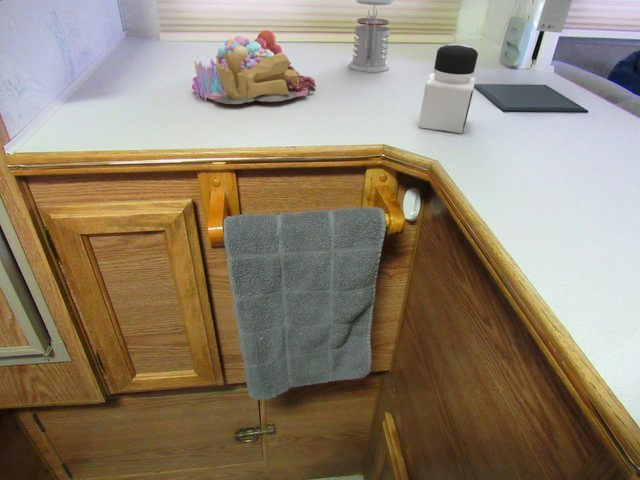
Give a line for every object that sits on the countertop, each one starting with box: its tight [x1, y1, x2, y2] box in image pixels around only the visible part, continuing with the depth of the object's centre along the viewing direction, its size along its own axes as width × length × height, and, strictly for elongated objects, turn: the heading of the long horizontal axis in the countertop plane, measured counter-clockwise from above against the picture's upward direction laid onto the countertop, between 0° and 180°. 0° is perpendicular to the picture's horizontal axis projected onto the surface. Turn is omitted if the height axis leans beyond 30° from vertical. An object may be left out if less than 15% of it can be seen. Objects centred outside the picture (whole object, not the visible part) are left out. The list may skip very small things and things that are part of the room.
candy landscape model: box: [191, 29, 317, 105], centre depth 81 cm, size 25×24×9 cm
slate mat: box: [474, 83, 589, 114], centre depth 83 cm, size 16×16×1 cm
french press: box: [348, 0, 395, 73], centre depth 92 cm, size 10×12×25 cm
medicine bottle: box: [418, 44, 479, 135], centre depth 67 cm, size 7×7×12 cm
